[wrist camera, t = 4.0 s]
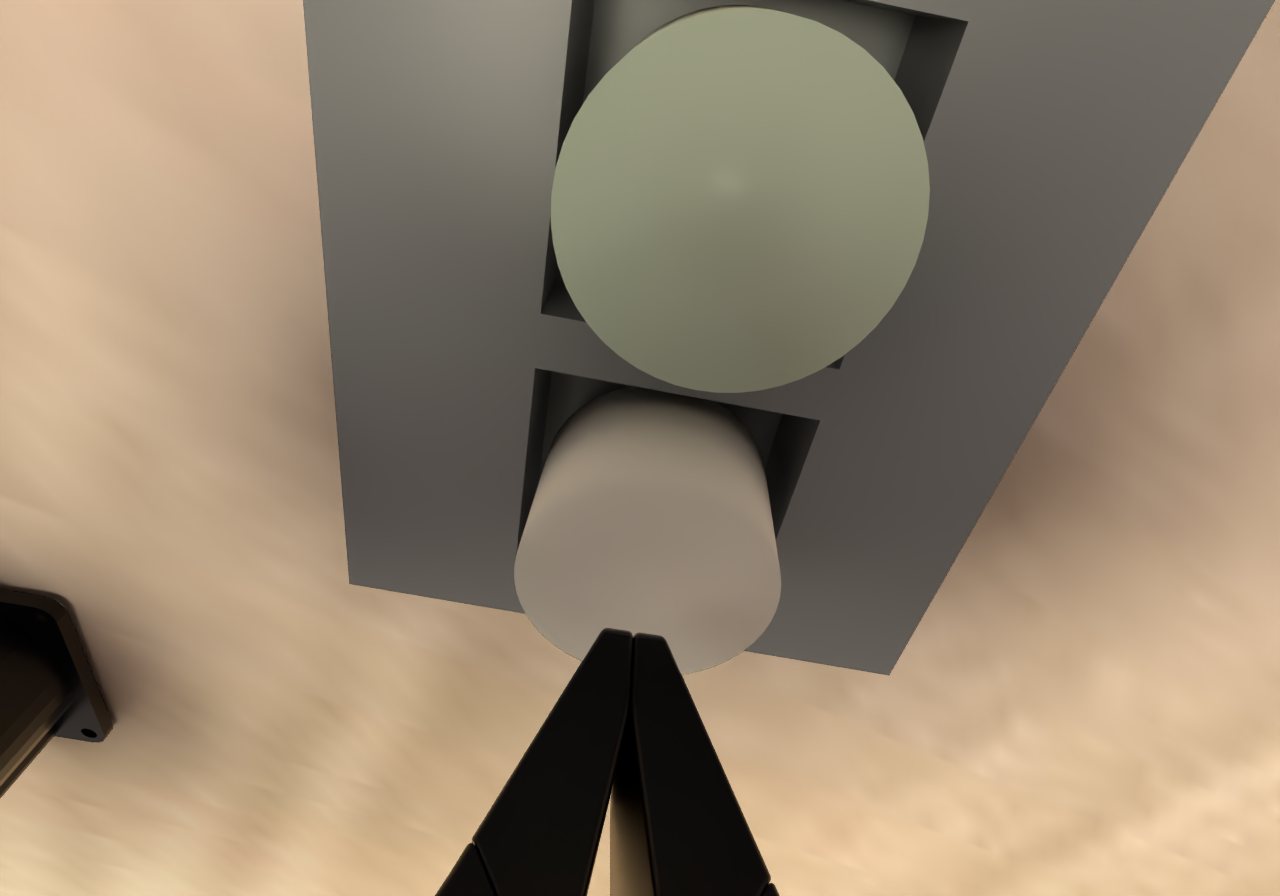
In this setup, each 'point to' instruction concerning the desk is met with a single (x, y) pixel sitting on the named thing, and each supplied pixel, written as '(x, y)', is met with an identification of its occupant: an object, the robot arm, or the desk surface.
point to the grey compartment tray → (776, 417)
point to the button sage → (739, 200)
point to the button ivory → (651, 529)
